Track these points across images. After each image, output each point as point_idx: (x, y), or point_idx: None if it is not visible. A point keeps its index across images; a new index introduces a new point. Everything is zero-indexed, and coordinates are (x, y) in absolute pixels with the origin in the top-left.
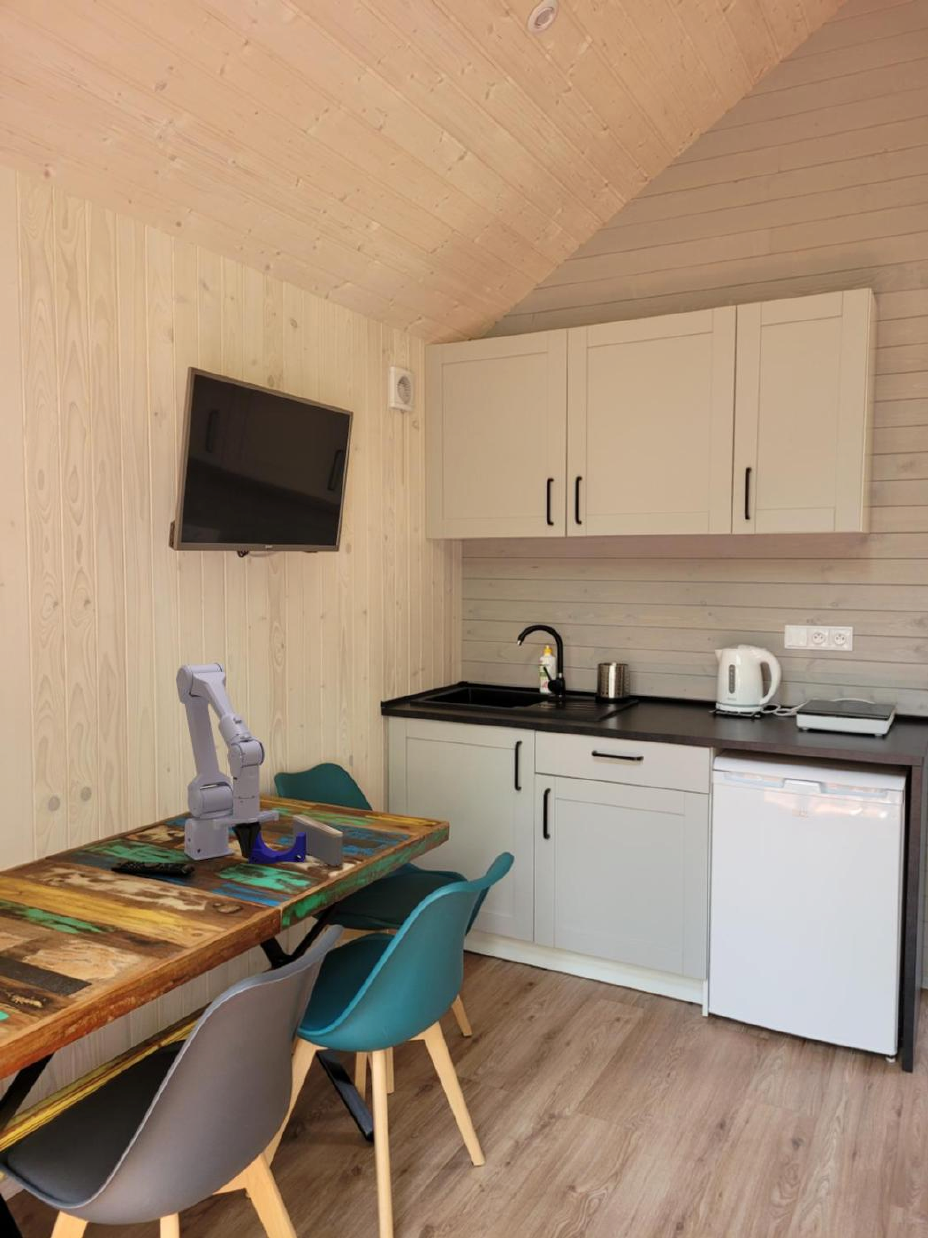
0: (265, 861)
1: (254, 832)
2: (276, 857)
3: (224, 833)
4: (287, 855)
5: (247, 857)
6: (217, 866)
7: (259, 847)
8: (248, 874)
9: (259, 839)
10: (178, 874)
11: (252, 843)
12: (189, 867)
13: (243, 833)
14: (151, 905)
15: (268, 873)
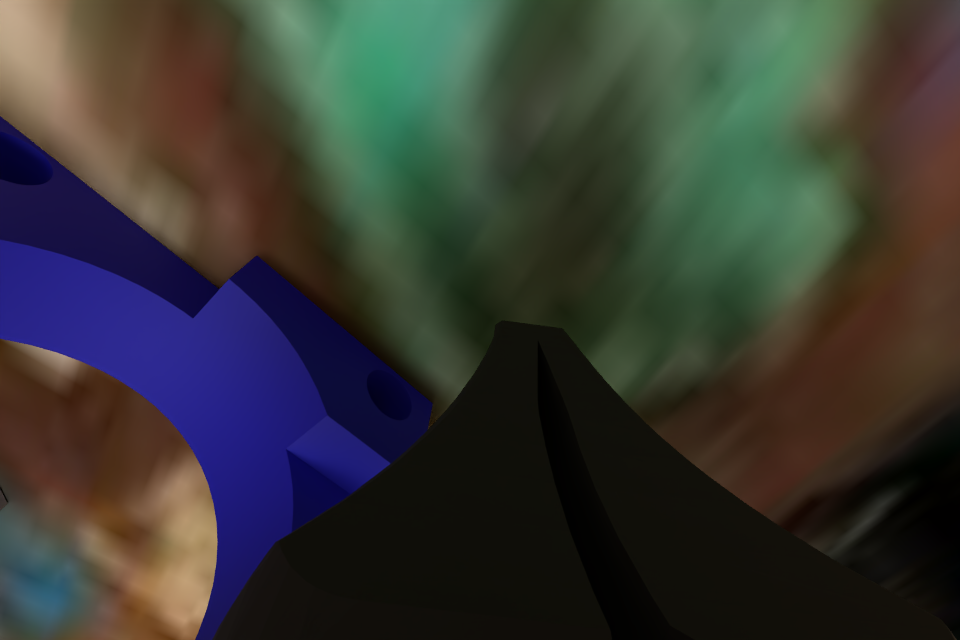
0: (320, 322)
1: (488, 533)
2: (205, 307)
3: None
4: (87, 245)
5: (545, 327)
6: None
7: (302, 472)
8: (621, 135)
9: (255, 562)
10: (948, 494)
11: (498, 400)
12: None
13: (831, 591)
14: None
15: (447, 4)
